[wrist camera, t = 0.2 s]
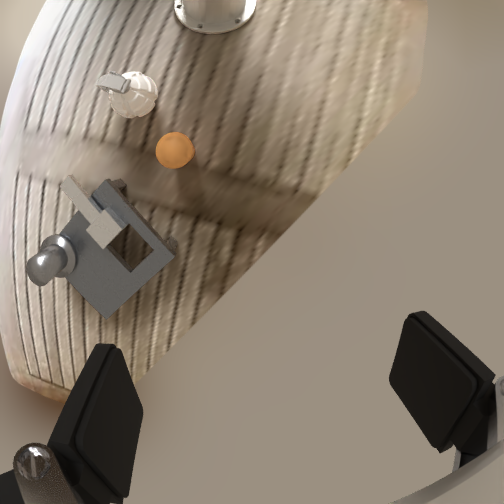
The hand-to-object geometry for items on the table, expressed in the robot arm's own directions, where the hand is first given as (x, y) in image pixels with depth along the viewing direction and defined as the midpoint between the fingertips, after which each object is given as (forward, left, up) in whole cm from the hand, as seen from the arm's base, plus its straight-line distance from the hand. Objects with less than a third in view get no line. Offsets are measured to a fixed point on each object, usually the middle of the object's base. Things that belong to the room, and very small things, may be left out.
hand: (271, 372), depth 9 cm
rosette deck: (-9, -18, -36) cm, 42 cm away
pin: (-10, 0, -36) cm, 38 cm away
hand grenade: (-21, 0, -37) cm, 42 cm away
